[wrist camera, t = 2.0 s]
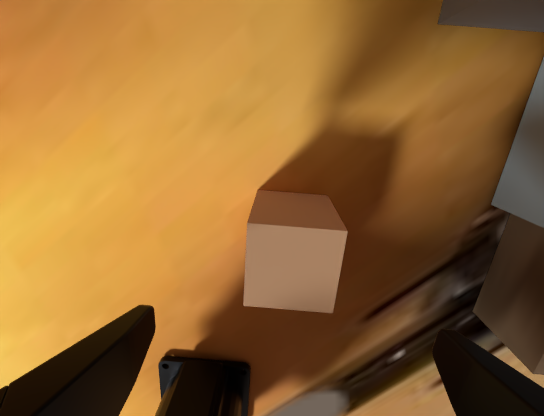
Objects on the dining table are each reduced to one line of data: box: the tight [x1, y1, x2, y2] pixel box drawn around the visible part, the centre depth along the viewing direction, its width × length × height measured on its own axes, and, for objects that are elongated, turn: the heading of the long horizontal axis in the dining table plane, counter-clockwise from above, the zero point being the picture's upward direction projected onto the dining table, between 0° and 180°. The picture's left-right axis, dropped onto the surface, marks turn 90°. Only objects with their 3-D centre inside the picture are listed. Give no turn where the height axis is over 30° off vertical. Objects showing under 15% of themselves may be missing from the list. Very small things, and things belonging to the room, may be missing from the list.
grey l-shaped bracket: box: [438, 0, 544, 228], centre depth 12 cm, size 10×7×4 cm
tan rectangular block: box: [243, 190, 348, 313], centre depth 14 cm, size 4×4×5 cm
